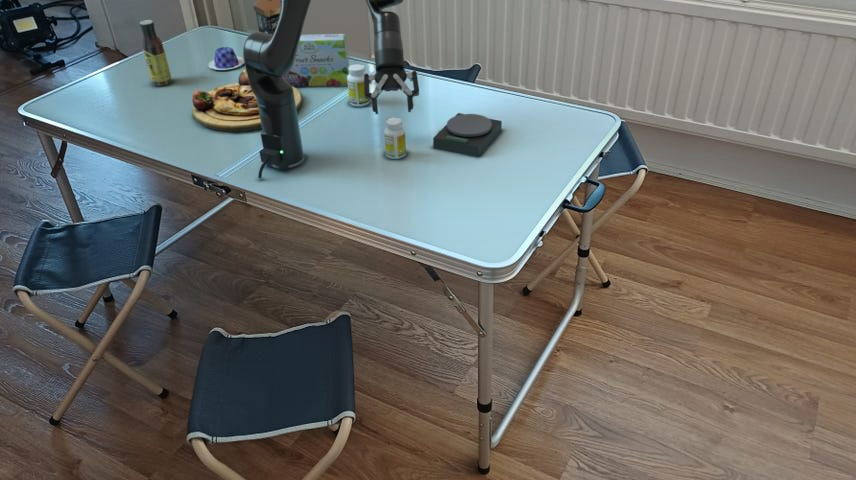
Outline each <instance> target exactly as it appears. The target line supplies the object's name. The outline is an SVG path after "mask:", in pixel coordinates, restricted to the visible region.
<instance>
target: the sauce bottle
mask: <svg viewBox="0 0 856 480" xmlns="http://www.w3.org/2000/svg"><path fill="white" fill-rule="evenodd" d="M139 27H140V29H141V32H142V36H143V37H142V53H143V55H144V59H145V63H146V67H147V70H148V73H149V77H150V81H151V83H152V84H153V85H154V86H156V87H163V86H167V85H169V84H171V83H172V75H171V74H172V73H171V71H170V67H169V66H170V65H169V62H168V58H167V55H166V51H165V48H164V44H163V41H162V40H161V38H160V37H159V36H158V35H157V32H156V29H155V22H154V20H152V19H143V20H141V21H140V22H139Z"/></svg>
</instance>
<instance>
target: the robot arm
mask: <svg viewBox="0 0 856 480" xmlns="http://www.w3.org/2000/svg"><path fill="white" fill-rule="evenodd" d="M311 1H312V0H280V16H279V20H278V23H277V27H276V29H275V32H274V34H273V35H272V34H268V33H264V32H259V31H254V32H252V33H251V34H249V35H248V36H247V38H246V39H245V41H244V44H243V50H242V54H243V57H242V58H243V59H244V63H243V64H244V67H245V70H246V71H247V75H248V79H249V83H250V87H251V90H252V92H253V93H254V95H255V96H256V100H257V105H258V110H259V115H260V121H261V126H262V128H261V130H262V131H261V132H260V139H261V143H262V149H260V150H259V152H258V153H259V157H260V158H259V159H260V162H261V163H262V164H261V165H260V167H259V170H258V175H257V178H258V179H262V175H263V171H264V168H265V166H266V167H268V168H271V169H276V170H280V171H284V172H285V171H287V170H290V169H293V168H296V167H298V166H300V165H302V164H303V163H304V162H305V154H304V149H303V148H304V147H303V142H302V138H301V130H300V124H299V119H298V118H299V117H298V111H297V110H296V104H295V98H294V91H293V88H292V86H291V85H290V84H289V83H288V82H287V81H286V80H285V79H284V78H283V76H285V75H286V74H287V73H288V72H289V71H290V70H291V68H292V66H293V63H294V61H295V57H296V54H297V50H298V45H299V41H300V37H301V35H302V32H303V28H304V25H305V20H306V17H307V14H308V12H309V7H310V5H311ZM365 2H366V5H367V7H368V10H369V12H370V16H371V19H372V23H373V36H374V37H373V41H374V42H373V49H374V51H373V54H374V65H375V73H374V74H369V73H366V74H365V75H364V95H365V98H366V99H370V102H371V109H372V110H371V111H372V112H373V113H374V115H379V107H378V98H379V96H380V95H381V94H382V93H383V91H384V92H391V91H392V92H398V90H400V92H402V93H403V94H404V95H405V96H406V98H407V99H406V103H407V113H411V112H412V111H413V110H414V97H418V96H419V95H420V86H419V80H418V73H417V71H416V70H412V72H406V69H405V58H404V47H403V46H404V45H403V40H402V31H401V30H402V29H401V20H400V19H401V18H400V16H399V15H398V13H396V12H394V11H387V10H386V11H384V9H389V8H391V7H394V6H398V5H400V4H402V3H403V2H404V0H365ZM407 79H408V80H409V81H410V82H412V87H413V90H411V89H410V87H408V85H407V84H406V83H405V82H406V80H407ZM373 81H374V82H375V83H377V85H376V86H375V89H374V90H373V91H372V92H370V93H369V91H370V85H372V84H373Z"/></svg>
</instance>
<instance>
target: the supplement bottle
mask: <svg viewBox="0 0 856 480" xmlns="http://www.w3.org/2000/svg"><path fill="white" fill-rule="evenodd" d="M385 124H386V127H385V128H384V130H383V135H384V136H383V137H384V148H385V150H384V151H385V155H386V157H387V158H389V159H391V160H398V159H402V158H404V157H405V156H406V155H407V145H406V144H407V143H406V129H405V128H404V126H403V120H402V119H401V118H400V117H389V118H388V119H387V120H386V121H385Z"/></svg>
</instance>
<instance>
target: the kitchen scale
mask: <svg viewBox="0 0 856 480" xmlns="http://www.w3.org/2000/svg"><path fill="white" fill-rule="evenodd" d="M502 121H503V120H500V119H493V118H489V117H487V116H484V115H481V114H477V113H460V112H458V113H457V114H456V115H454V116H453V117H451V118H449V119H448V120H447V122H446V125H444V127H443V128H441V129H440V131H439V132H437V133H436V135H434V137H433V138H432V142H433V149H437V150H442V151H447V152H451V153H457V154H462V155H468V156H471V157H475V158H476V157H477V158H479V157H480V156H481V155H482V154H483V152H484V151H485V150H486V149H487V148H488V147H489V146H490V145H491V143H492V142H494V140H495V139H496V138H497V137H498V135H499V134H500V133H501V132H502V129H503V127H502V124H503V122H502Z"/></svg>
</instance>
